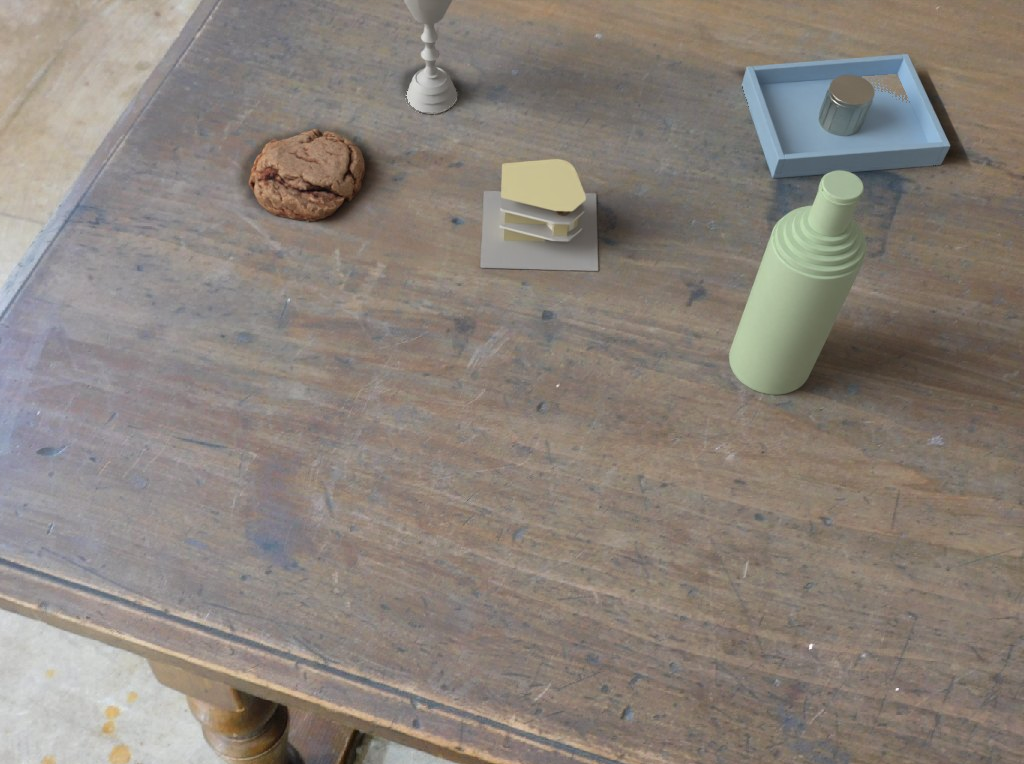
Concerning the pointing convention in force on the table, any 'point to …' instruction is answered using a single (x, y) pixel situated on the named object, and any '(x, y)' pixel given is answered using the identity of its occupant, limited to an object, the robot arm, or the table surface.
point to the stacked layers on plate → (539, 219)
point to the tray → (813, 151)
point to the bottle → (800, 288)
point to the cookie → (307, 175)
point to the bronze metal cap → (846, 105)
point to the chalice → (430, 61)
